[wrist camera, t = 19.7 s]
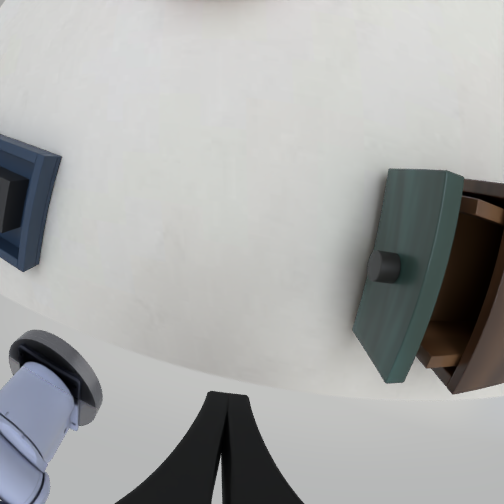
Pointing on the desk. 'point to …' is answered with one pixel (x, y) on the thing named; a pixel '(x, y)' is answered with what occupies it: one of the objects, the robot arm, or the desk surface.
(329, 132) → the desk surface
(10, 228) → the remote
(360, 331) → the drawer
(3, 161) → the tray
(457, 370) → the cabinet
